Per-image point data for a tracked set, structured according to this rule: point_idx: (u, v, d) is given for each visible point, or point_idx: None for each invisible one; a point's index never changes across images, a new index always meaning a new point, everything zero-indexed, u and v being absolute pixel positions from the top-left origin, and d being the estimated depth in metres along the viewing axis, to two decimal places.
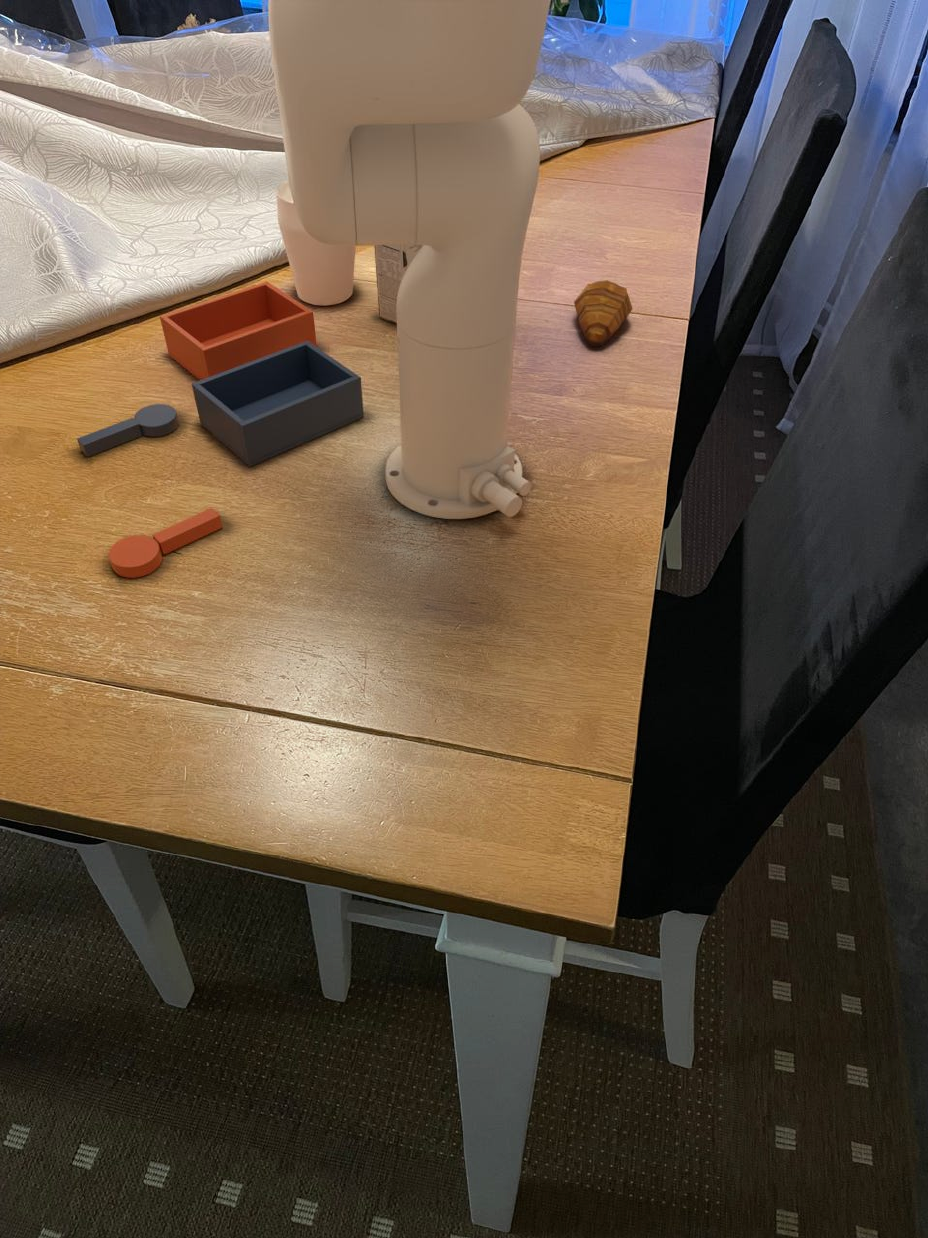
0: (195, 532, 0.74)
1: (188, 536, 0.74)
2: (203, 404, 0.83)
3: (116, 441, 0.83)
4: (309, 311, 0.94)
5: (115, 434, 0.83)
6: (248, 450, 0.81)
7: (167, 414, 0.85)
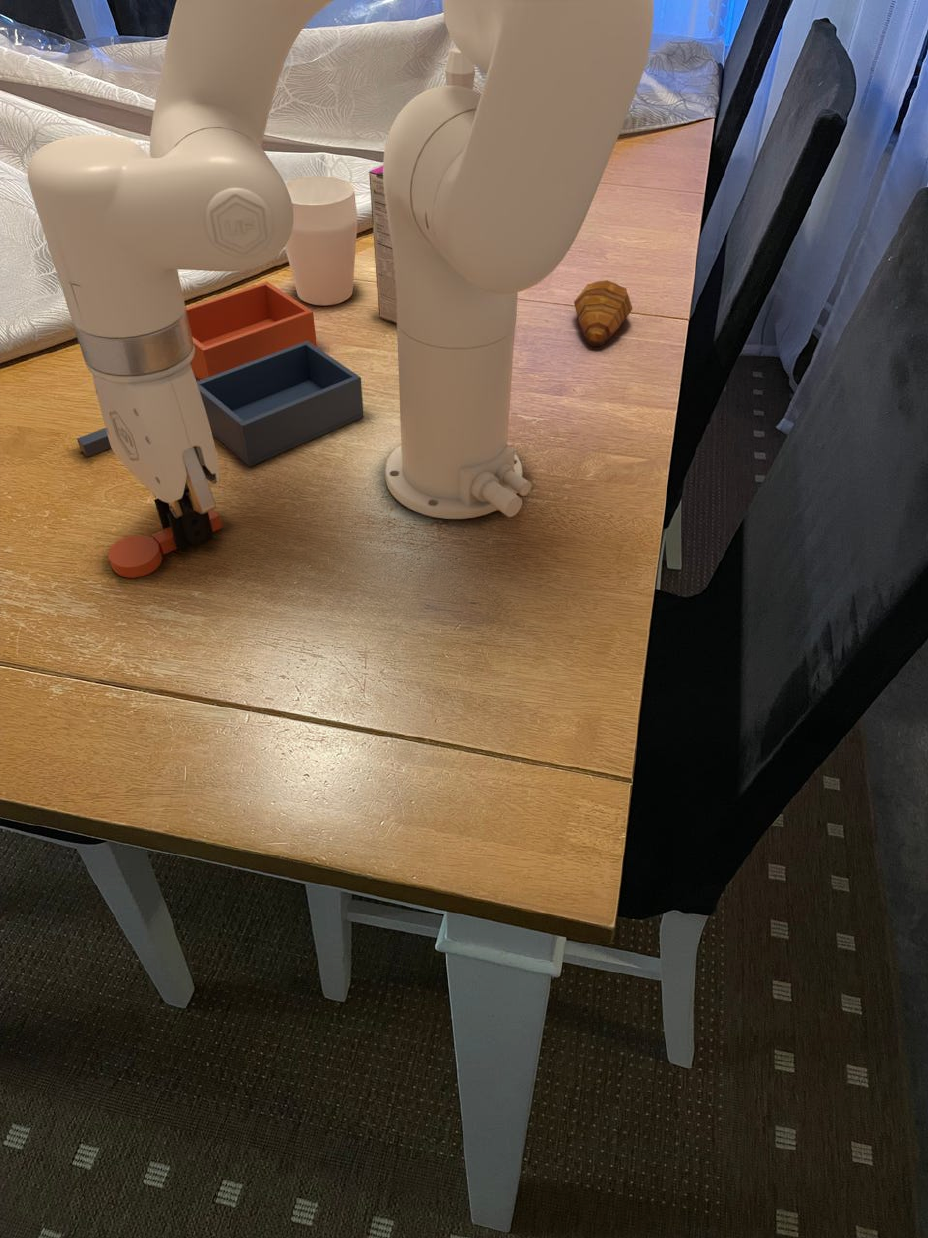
0: None
1: None
2: None
3: None
4: (309, 311, 0.94)
5: None
6: (248, 450, 0.81)
7: None
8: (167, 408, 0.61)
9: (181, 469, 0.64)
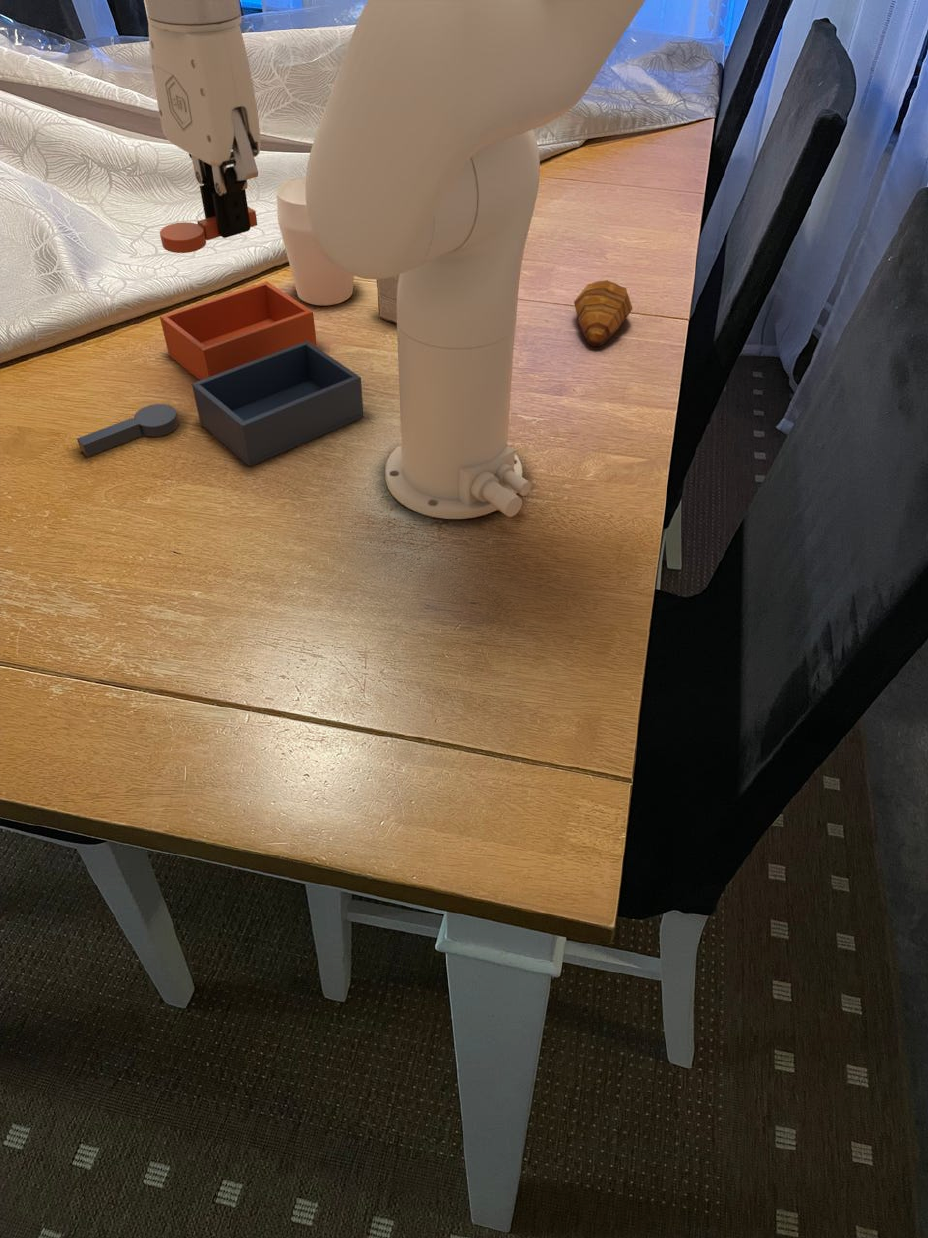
0: None
1: None
2: (203, 404, 0.83)
3: (116, 441, 0.83)
4: (309, 311, 0.94)
5: (115, 434, 0.83)
6: (248, 450, 0.81)
7: (167, 414, 0.85)
8: (220, 59, 0.71)
9: (230, 127, 0.74)
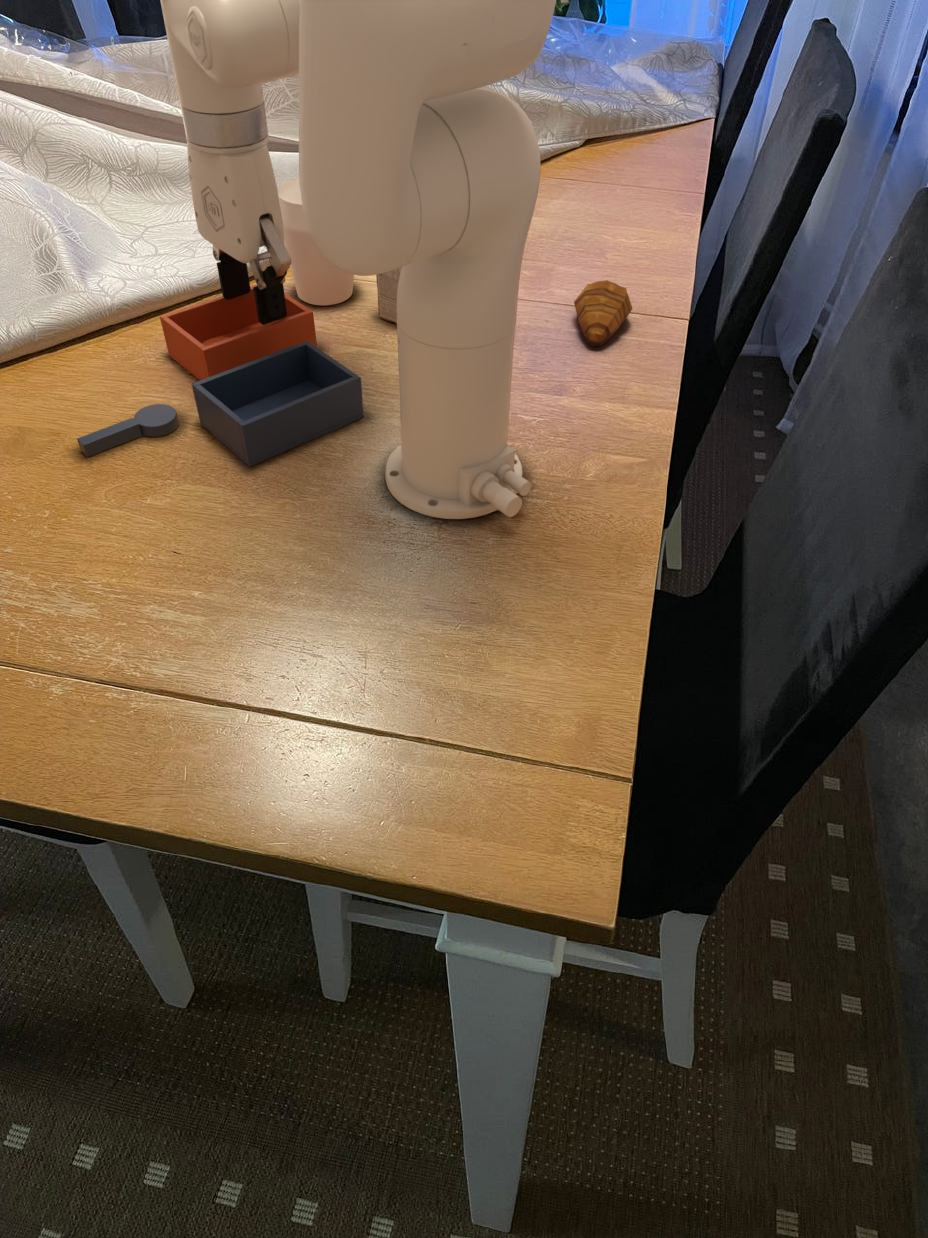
0: None
1: None
2: (203, 404, 0.83)
3: (116, 441, 0.83)
4: (309, 311, 0.94)
5: (115, 434, 0.83)
6: (248, 450, 0.81)
7: (167, 414, 0.85)
8: (250, 176, 0.81)
9: (257, 231, 0.84)
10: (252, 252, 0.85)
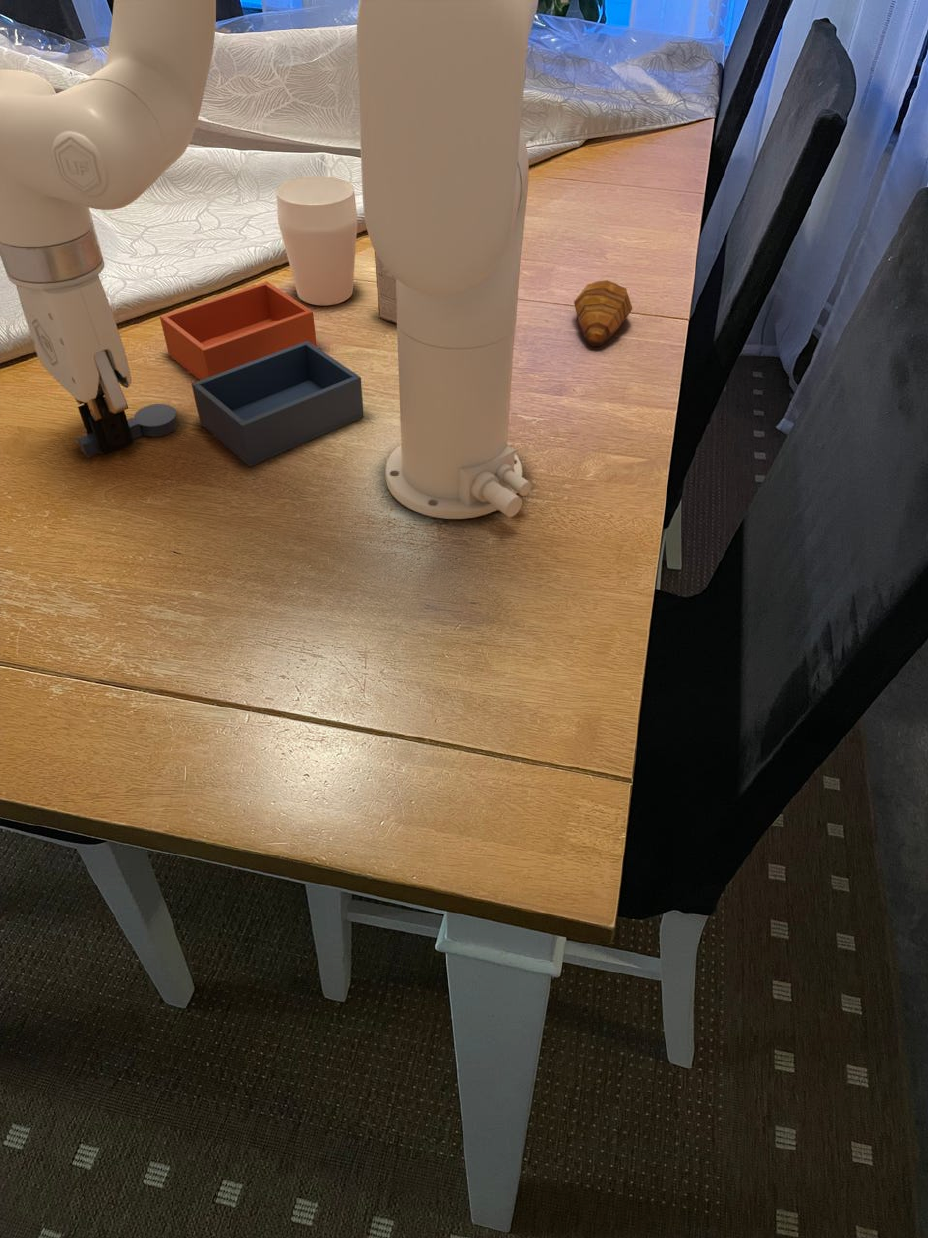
0: None
1: None
2: (203, 404, 0.83)
3: None
4: (309, 311, 0.94)
5: None
6: (248, 450, 0.81)
7: (167, 414, 0.85)
8: (77, 312, 0.70)
9: (93, 370, 0.73)
10: (89, 392, 0.74)
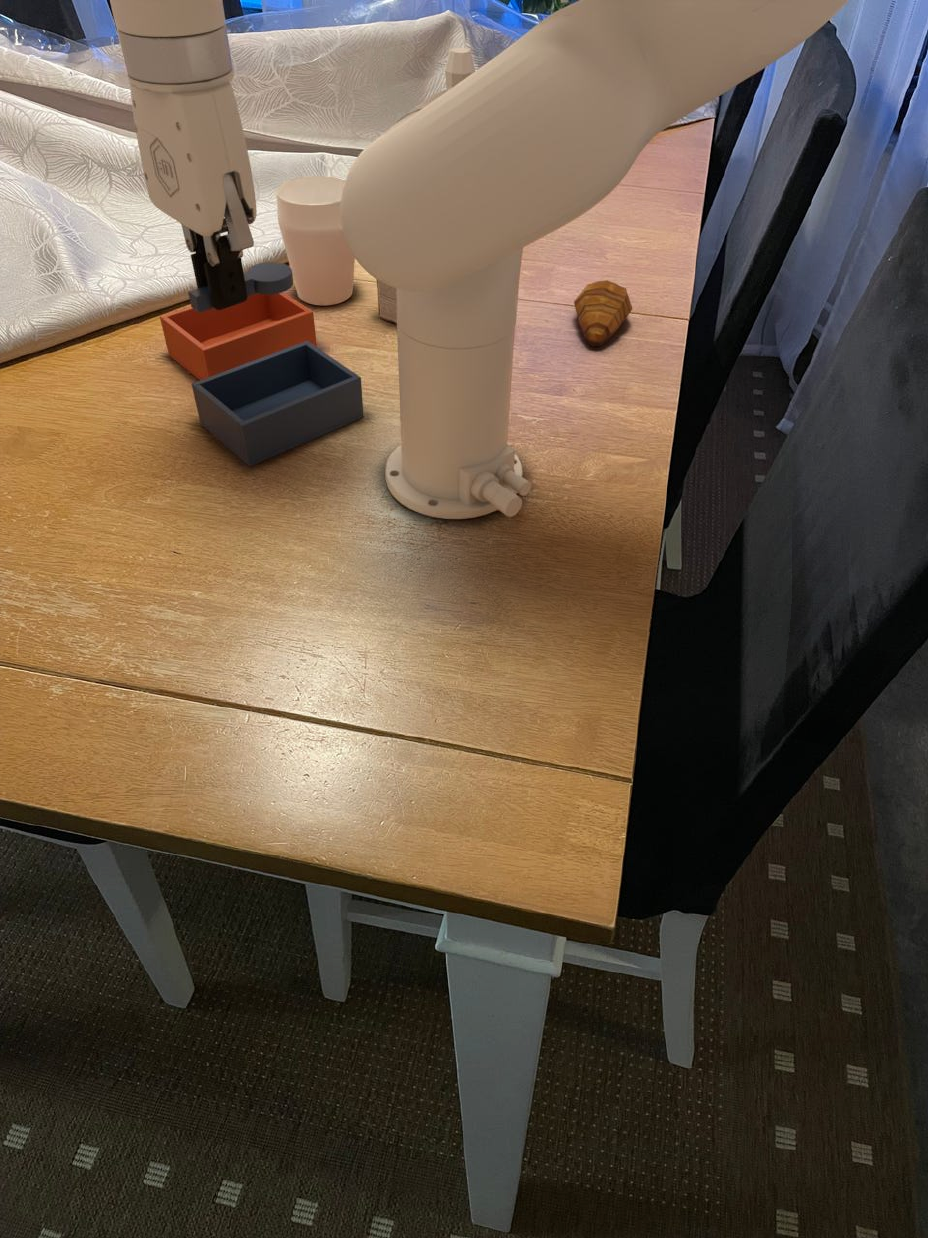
0: None
1: None
2: (203, 404, 0.83)
3: None
4: (309, 311, 0.94)
5: None
6: (248, 450, 0.81)
7: (282, 270, 0.78)
8: (209, 121, 0.62)
9: (221, 195, 0.66)
10: (215, 222, 0.67)
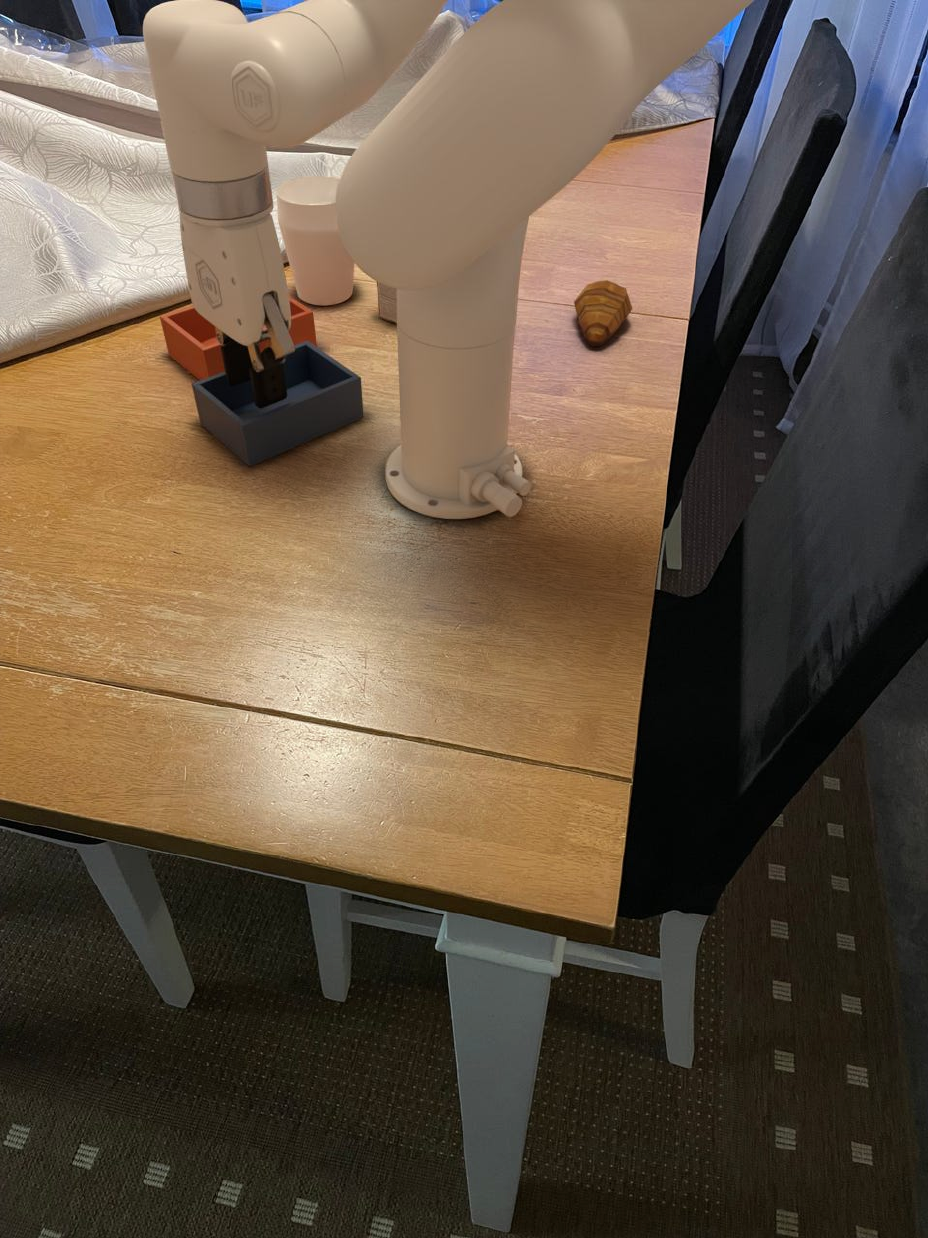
0: None
1: None
2: (203, 404, 0.83)
3: None
4: (309, 311, 0.94)
5: None
6: (248, 450, 0.81)
7: None
8: (251, 251, 0.69)
9: (260, 311, 0.73)
10: (254, 334, 0.74)
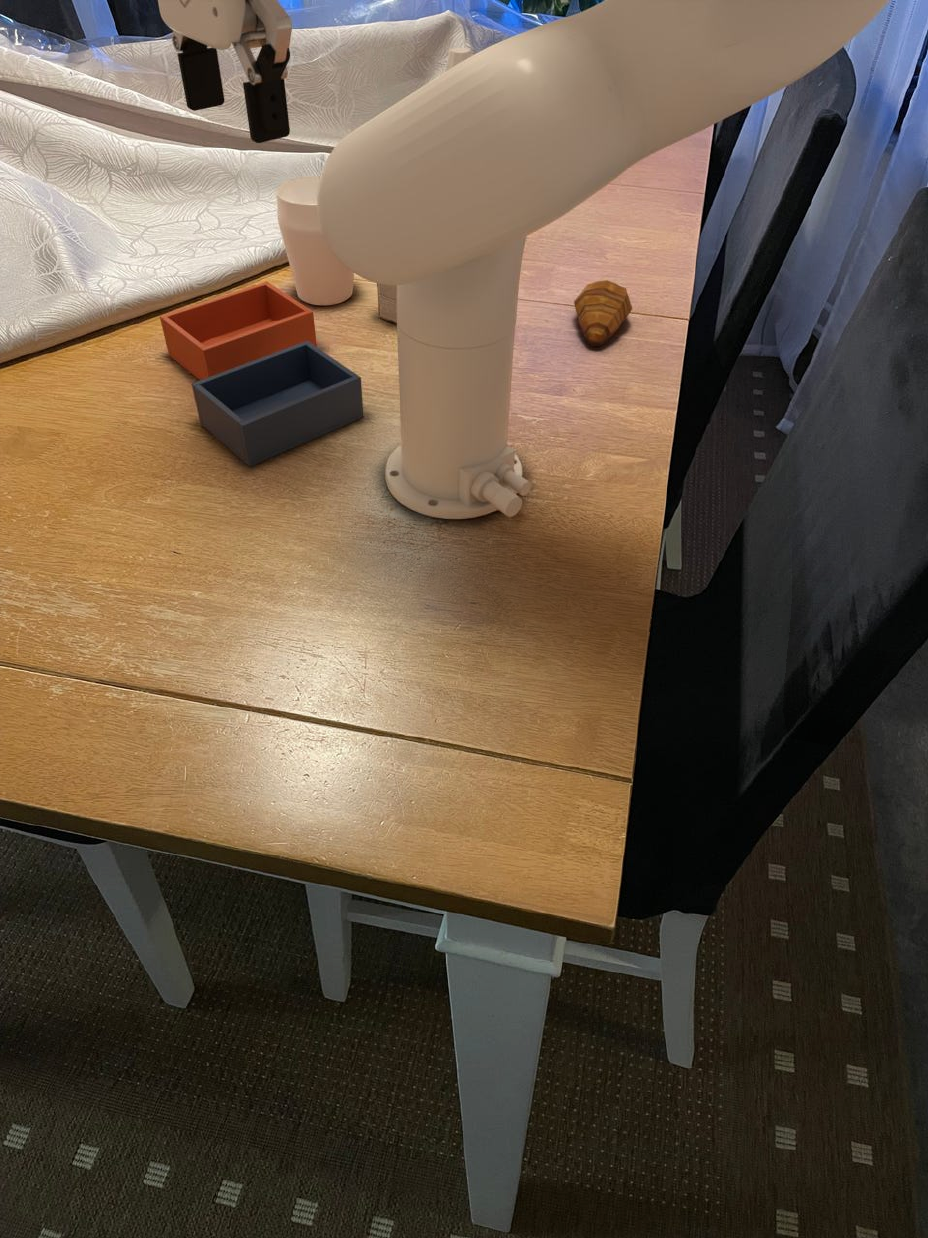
0: None
1: None
2: (203, 404, 0.83)
3: None
4: (309, 311, 0.94)
5: None
6: (248, 450, 0.81)
7: None
8: None
9: None
10: (233, 30, 0.61)
